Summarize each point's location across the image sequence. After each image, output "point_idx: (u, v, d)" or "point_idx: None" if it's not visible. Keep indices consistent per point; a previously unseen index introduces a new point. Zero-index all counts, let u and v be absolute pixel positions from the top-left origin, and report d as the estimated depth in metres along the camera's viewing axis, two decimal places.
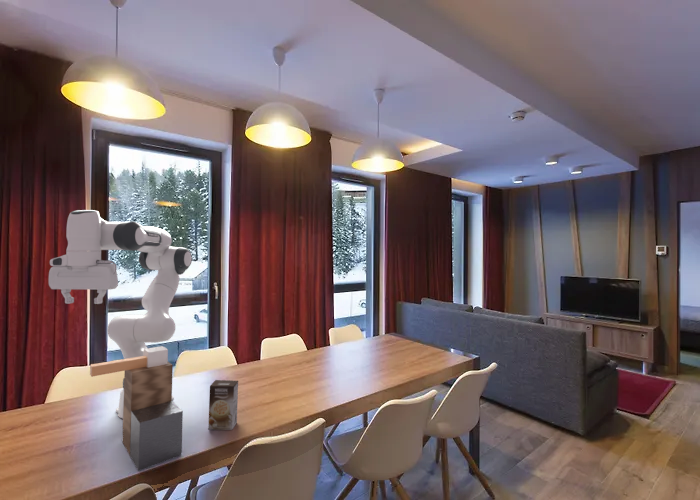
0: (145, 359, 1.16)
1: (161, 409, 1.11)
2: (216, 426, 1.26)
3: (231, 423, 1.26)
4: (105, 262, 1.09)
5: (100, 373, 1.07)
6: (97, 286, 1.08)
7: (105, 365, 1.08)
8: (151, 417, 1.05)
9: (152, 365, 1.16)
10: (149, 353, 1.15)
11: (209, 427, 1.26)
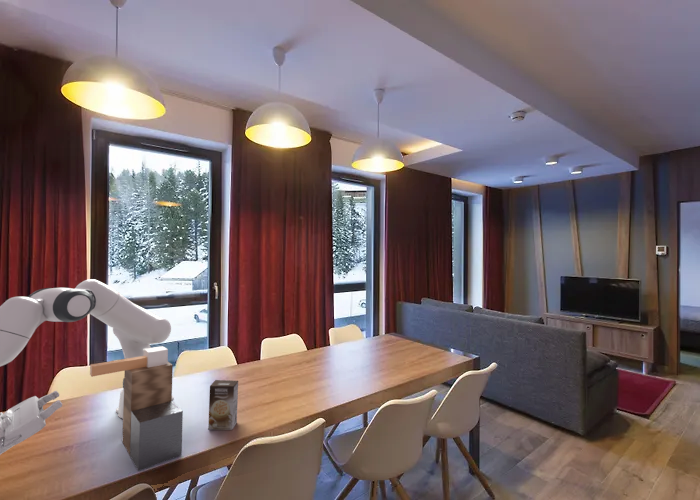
0: (145, 359, 1.16)
1: (161, 409, 1.11)
2: (216, 426, 1.26)
3: (231, 423, 1.26)
4: None
5: (100, 373, 1.07)
6: None
7: (105, 365, 1.08)
8: (151, 417, 1.05)
9: (152, 365, 1.16)
10: (149, 353, 1.15)
11: (209, 427, 1.26)
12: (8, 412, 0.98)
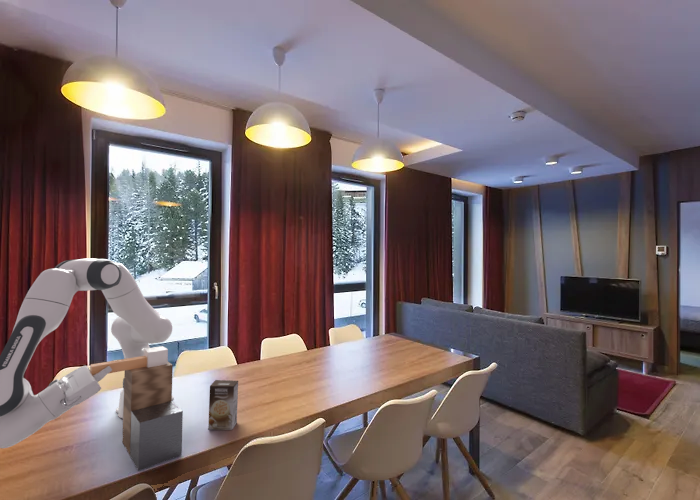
0: (145, 359, 1.16)
1: (161, 409, 1.11)
2: (216, 426, 1.26)
3: (231, 423, 1.26)
4: None
5: None
6: None
7: (105, 365, 1.08)
8: (151, 417, 1.05)
9: (152, 365, 1.16)
10: (149, 353, 1.15)
11: (209, 427, 1.26)
12: (63, 379, 1.07)
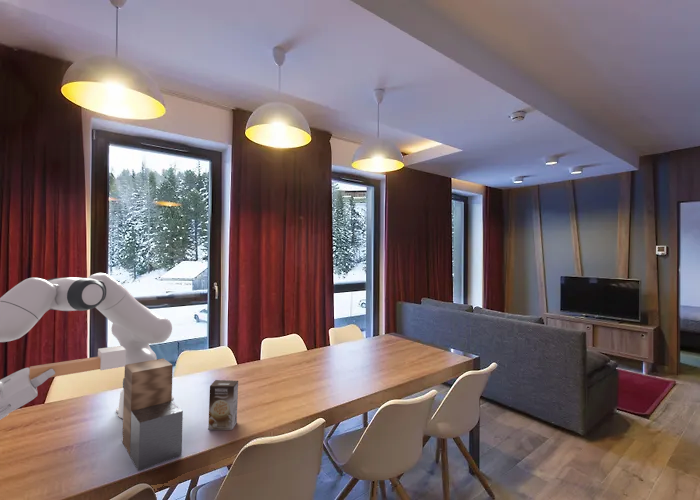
0: (98, 360, 1.00)
1: (161, 409, 1.11)
2: (216, 426, 1.26)
3: (231, 423, 1.26)
4: None
5: None
6: None
7: (47, 367, 0.92)
8: (151, 417, 1.05)
9: (106, 367, 1.00)
10: (102, 354, 0.99)
11: (209, 427, 1.26)
12: None
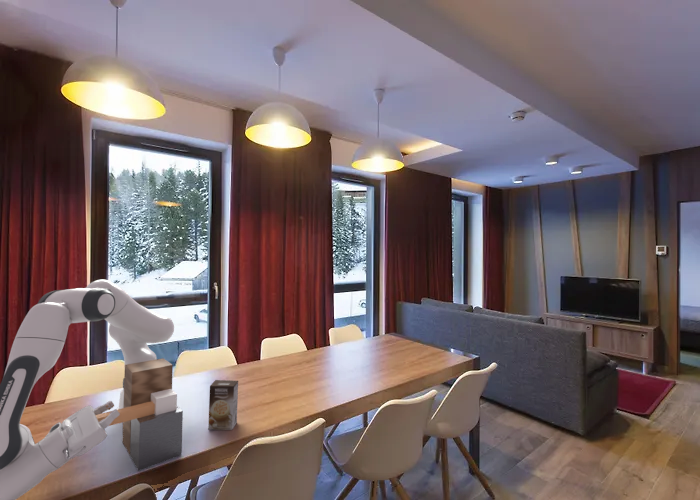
0: (153, 406, 1.07)
1: None
2: (216, 426, 1.26)
3: (231, 423, 1.26)
4: None
5: None
6: None
7: None
8: (151, 417, 1.05)
9: (160, 412, 1.07)
10: (157, 399, 1.07)
11: (209, 427, 1.26)
12: (66, 422, 0.99)
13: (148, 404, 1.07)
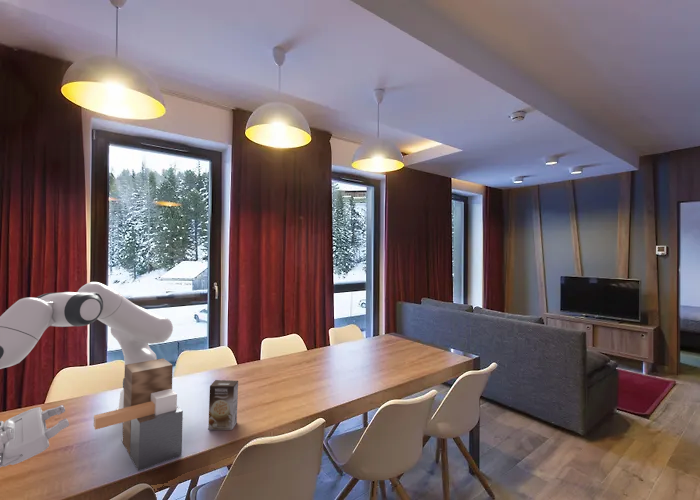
0: (153, 406, 1.07)
1: None
2: (216, 426, 1.26)
3: (231, 423, 1.26)
4: None
5: (104, 425, 0.99)
6: None
7: (110, 416, 1.00)
8: (151, 417, 1.05)
9: (160, 412, 1.07)
10: (157, 399, 1.07)
11: (209, 427, 1.26)
12: (9, 422, 0.91)
13: (148, 404, 1.07)
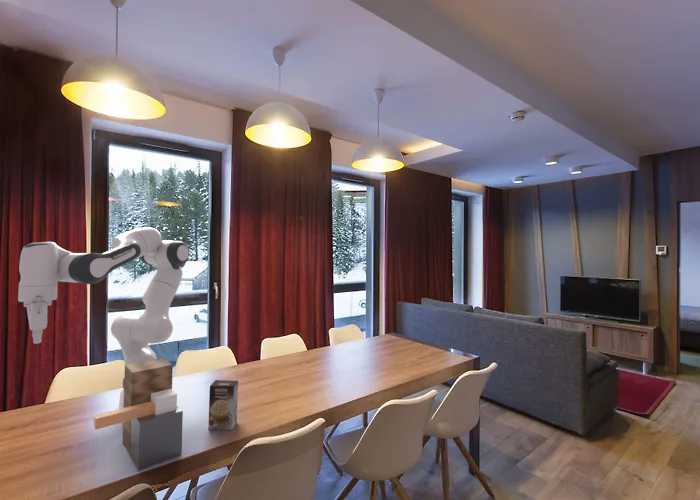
0: (153, 406, 1.07)
1: None
2: (216, 426, 1.26)
3: (231, 423, 1.26)
4: (37, 299, 0.99)
5: (104, 425, 0.99)
6: (29, 325, 0.99)
7: (110, 416, 1.00)
8: (151, 417, 1.05)
9: (160, 412, 1.07)
10: (157, 399, 1.07)
11: (209, 427, 1.26)
12: None
13: (148, 404, 1.07)
